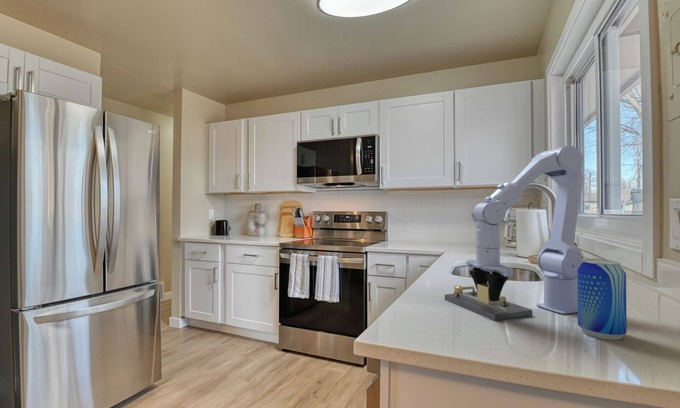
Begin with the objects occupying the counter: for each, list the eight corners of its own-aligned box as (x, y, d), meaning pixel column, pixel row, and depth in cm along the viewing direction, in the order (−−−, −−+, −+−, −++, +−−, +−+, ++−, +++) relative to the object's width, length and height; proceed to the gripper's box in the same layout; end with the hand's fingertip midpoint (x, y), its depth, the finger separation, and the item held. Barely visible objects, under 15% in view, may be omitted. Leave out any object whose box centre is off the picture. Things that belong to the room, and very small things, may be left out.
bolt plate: (477, 296, 103) (477, 283, 104) (532, 315, 84) (532, 300, 85) (444, 299, 100) (444, 286, 100) (494, 320, 81) (494, 304, 81)
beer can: (568, 327, 76) (568, 258, 76) (601, 326, 77) (600, 257, 77) (601, 342, 68) (600, 264, 68) (637, 340, 69) (636, 264, 69)
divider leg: (499, 301, 91) (499, 281, 91) (511, 305, 87) (511, 285, 88) (477, 303, 89) (477, 283, 89) (488, 307, 85) (488, 287, 85)
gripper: (457, 245, 93) (457, 293, 93) (496, 251, 80) (497, 307, 79) (477, 244, 96) (478, 291, 95) (519, 250, 82) (519, 305, 82)
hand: (488, 298), depth 88 cm, fingers closed on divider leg, 4 cm apart
